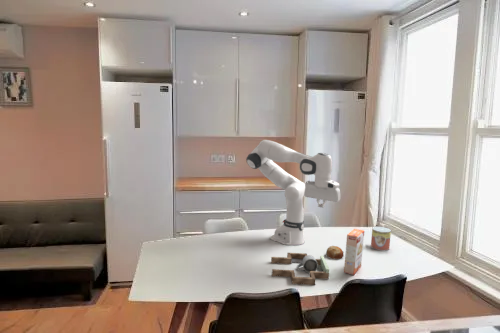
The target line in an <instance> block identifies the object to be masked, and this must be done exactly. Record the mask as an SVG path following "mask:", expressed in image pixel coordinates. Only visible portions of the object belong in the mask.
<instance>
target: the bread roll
mask: <svg viewBox="0 0 500 333" xmlns="http://www.w3.org/2000/svg"><path fill="white" fill-rule="evenodd" d="M344 253H345V252H344V251H343V249H342V248H341V247H339V246H335V245H331V246H328V248H327V249H326V253H325V256H326V257H328V259H332V260H340V259H341V260H342V259H343V258H344V257H345V256H344V255H345V254H344Z"/></svg>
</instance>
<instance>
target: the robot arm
mask: <svg viewBox="0 0 500 333" xmlns="http://www.w3.org/2000/svg"><path fill="white" fill-rule="evenodd" d="M245 159H246V160H245V161H246V164H247V165H248V166H249V168H251V169H253V170H256V169H257V170H259V171H260V173H261V174H262V175H263V176H264V177H265V178H267V180H269V181H270V182H271V183H272V184H274V185H275V186H276V187H277V188H281V189H282V190H284V197H285V205H286V213H285V214H286V218H285V219H284V220H283V221H282V222H281V223H283V224H281V225H280V226H279V227H277V228H276V229H275V230H274V233H273V235H271V236H270V240H271V241H275V242H276V243H279V244H282V245H285V246H291V245H293V246H299V245H303V244H305V237H304V228H305V227H304V226H305V225H304V224H305V221H304V214H305V213H304V212H305V208H304V202H303V198H304V197H305V198H311V199H316V202H317V207H318V208H323V209H324V208H325V205H326V203H327V202H333V203H338V202H340V201H341V190H340V183H339V182H337V181H335V180H332V174H331V173H332V171H333V160H332V155H330V154H328V153H325V152H318V153H316V154H315V155H313V156H310V155H307V154H305V153H303V152H299V151H297V150H294V149H292V148H290V147H288V146H286V145H285V144H281V143H278V142H276V141H273V140H269V139H263V140H261V141H260V142H259V144H258V145H257V146H255V148H254V149H253V150H252V151H251V152H250V153H249V154H248V155H247V157H246V158H245ZM277 163H295V164H296V163H297V164H299V170H300V172H301V173H302V174H303V175H306V176H310V175H311V176H312V175H314V181H313V180H307V181H306V182H303V181H301V180H300V179H298V178H296V177H295V176H293V175H292V174H290V173H288V172H287V171H285V170H284V168H282V167H281V166H280V165H278V164H277ZM321 200H322V203H321Z"/></svg>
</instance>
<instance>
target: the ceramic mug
mask: <svg viewBox="0 0 500 333" xmlns="http://www.w3.org/2000/svg"><path fill="white" fill-rule="evenodd" d="M316 259H317V258H315V257H314V256H312V255H311V254H309V255H308V254H307V256H305V257H304V258H303V261H302V263H297V265H296V270H297V271H303V270H304V272H306V273H308V274H310V271H318V269H319V265H318V263H317V261H316Z"/></svg>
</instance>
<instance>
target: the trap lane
mask: <svg viewBox="0 0 500 333" xmlns="http://www.w3.org/2000/svg"><path fill="white" fill-rule="evenodd" d="M307 255H308V254H307V253H303V252H302V253H301V252H287V254H286V256H287V257H283V256H282V257H281V256H271V257H270V258H271V259H270V264H283V265H291V264H301V263H302V261H303V258H304V257H305V256H307ZM315 259H316V261H317V263H318V266H320V264H321V260H320V258H315ZM295 274H296V273H295V270H293V269H277V268H276V269H275V268H272V269H271V276H272V277H284V278H290V279H291V284H292V285H307V286H308V285H309V286H310V285H311V286H315V285H316V279H325V280H329V279H330V272H329V273H326V272H323V271H320V270H319V271H318V270H316V271H310V273H309V276H296V275H295Z"/></svg>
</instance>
